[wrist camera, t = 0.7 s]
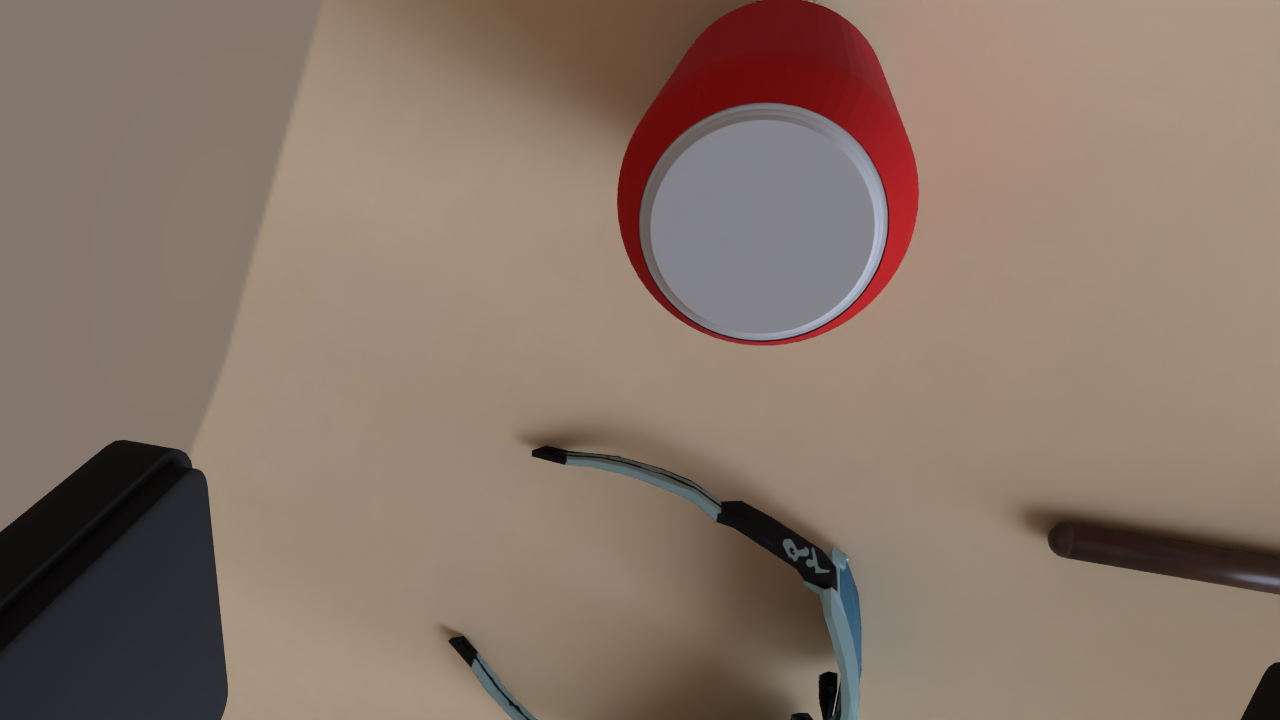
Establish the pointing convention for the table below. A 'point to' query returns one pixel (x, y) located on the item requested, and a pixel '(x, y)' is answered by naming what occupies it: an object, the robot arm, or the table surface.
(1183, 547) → the brown flat paddle
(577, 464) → the sunglasses
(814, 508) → the table surface
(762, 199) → the beverage can
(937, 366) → the table surface
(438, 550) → the table surface
